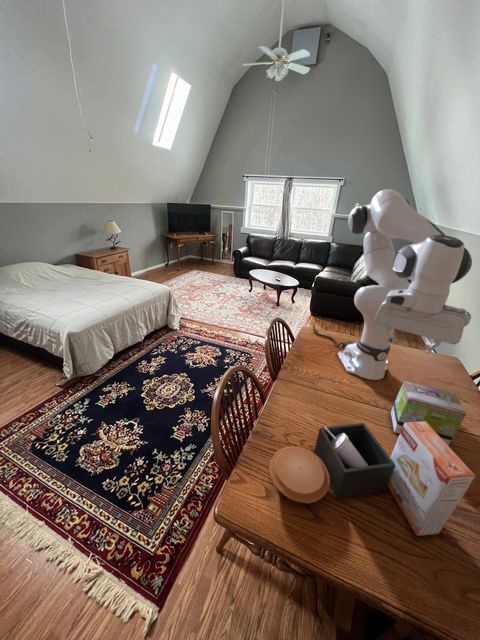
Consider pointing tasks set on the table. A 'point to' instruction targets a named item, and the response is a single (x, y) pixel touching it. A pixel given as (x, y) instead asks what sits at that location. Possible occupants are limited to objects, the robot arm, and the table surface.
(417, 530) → the cracker box
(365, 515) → the table surface
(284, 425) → the table surface
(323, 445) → the trash bin
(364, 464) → the smoothie
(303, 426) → the table surface
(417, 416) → the tea box
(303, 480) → the pie
